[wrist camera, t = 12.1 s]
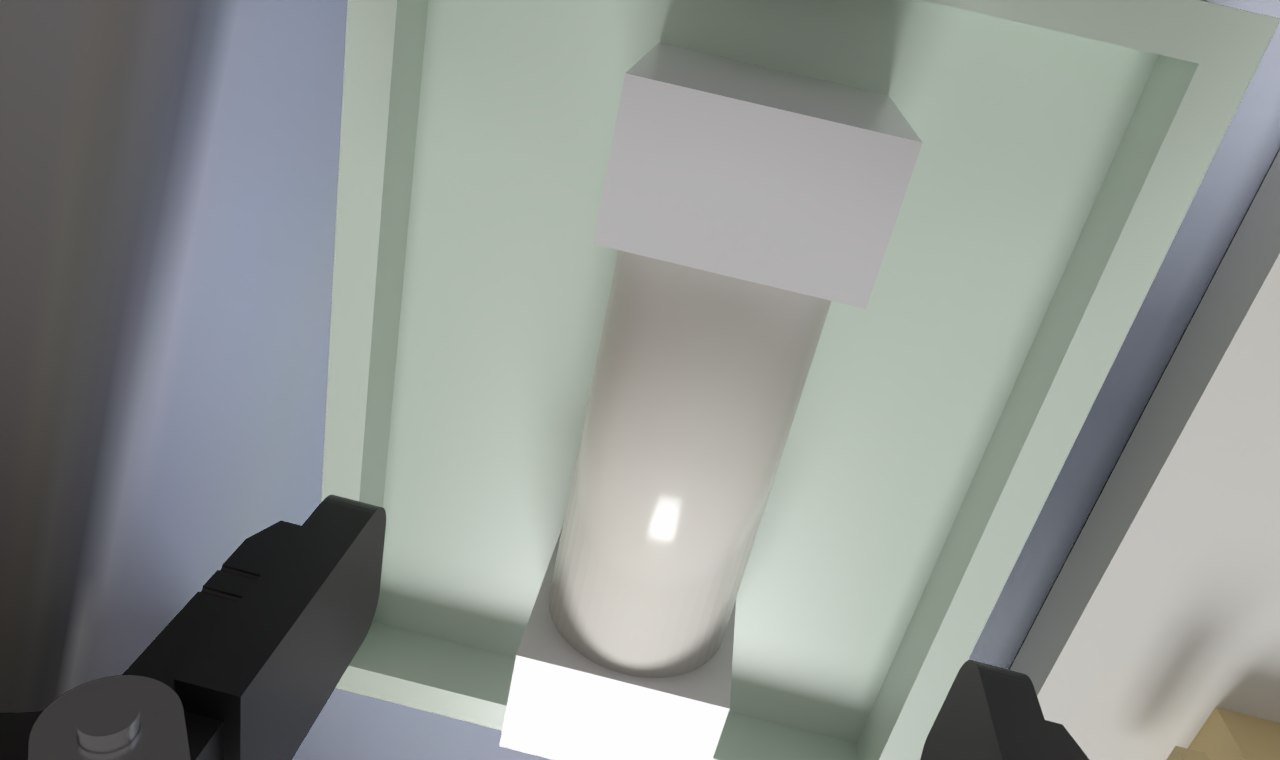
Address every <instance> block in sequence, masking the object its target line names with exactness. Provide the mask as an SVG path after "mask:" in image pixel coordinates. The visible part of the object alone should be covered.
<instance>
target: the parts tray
mask: <svg viewBox="0 0 1280 760" xmlns="http://www.w3.org/2000/svg"><path fill="white" fill-rule="evenodd" d="M1279 22H1280V18H1276V17H1272V16H1267V15H1263V14H1259V13H1254V12H1250V11H1245V10H1241V9H1237V8H1232V7H1228V6H1223V5H1219V4H1215V3H1210V2H1206V1H1201V0H348V5H347V24H346V43H345V62H344V81H343V99H342V118H341V137H340V156H339V175H338V194H337V213H336V232H335V250H334V269H333V288H332V307H331V326H330V345H329V364H328V382H327V401H326V420H325V439H324V458H323V477H322V496H321V502H322V501H323V500H324V499H325V498H326V497H327V496H329V495H336V496H340V497H344V498H348V499H352V500H356V501H360V502H363V503H367V504H371V505H375V506H379V507H383V508H384V509H385V511H386V529H385V539H384V550H383V561H382V572H381V582H380V593H379V599H378V604H377V608H376V612H375V615H374V618H373V621H372V624H371V626H370V629H369V631H368V633H367V635H366V637H365V639H364V641H363V643H362V644H361V646H360V648H359V649H358V651H357V653H356V654H355V656H354V658H353V659H352V661H351V663H350V664H349V666H348V667H347V669H346V671H345V672H344V674H343V676H342V677H341V679H340V681H339V682H338V684H337V686H336V687H335V688H337V689H341V690H345V691H349V692H353V693H357V694H361V695H365V696H369V697H372V698H376V699H380V700H384V701H388V702H392V703H396V704H400V705H404V706H408V707H412V708H416V709H420V710H423V711H427V712H431V713H435V714H439V715H443V716H447V717H451V718H455V719H459V720H463V721H467V722H471V723H475V724H478V725H482V726H486V727H490V728H494V729H498V730H502V728H503V723H504V718H505V712H506V707H507V702H508V696H509V691H510V686H511V680H512V675H513V670H514V664H515V659H516V654H517V651H518V649H519V646H520V643H521V640H522V638H523V635H524V632H525V629H526V626H527V624H528V621H529V618H530V615H531V612H532V610H533V607H534V604H535V601H536V598H537V596H538V593H539V590H540V587H541V585H542V582H543V579H544V576H545V573H546V571H547V568H548V565H549V562H550V559H551V557H552V554H553V551H554V548H555V546H556V543H557V540H558V537H559V534H560V532H561V529H562V528H563V523H564V518H565V513H566V508H567V503H568V498H569V493H570V488H571V483H572V478H573V473H574V468H575V463H576V458H577V453H578V448H579V443H580V438H581V433H582V428H583V423H584V418H585V413H586V408H587V403H588V398H589V393H590V388H591V383H592V379H593V374H594V369H595V364H596V359H597V354H598V349H599V344H600V339H601V334H602V329H603V324H604V319H605V314H606V309H607V304H608V299H609V294H610V289H611V284H612V279H613V274H614V269H615V264H616V259H617V254H618V250H616V249H612V248H608V247H604V246H599V245H595V244H593V242H594V237H595V232H596V226H597V221H598V216H599V210H600V205H601V200H602V194H603V189H604V184H605V178H606V173H607V168H608V162H609V157H610V152H611V146H612V141H613V136H614V130H615V125H616V120H617V114H618V109H619V104H620V98H621V93H622V88H623V82H624V77H625V73H626V72H627V71H628V70H629V69H630V68H631V67H632V66H634V65H635V64H636V63H637V62H638V61H639V60H640V59H641V58H642V57H643V56H644V55H646V54H647V53H648V52H649V51H650V50H651V49H652V48H653V47H654V46H655V45H656V44H658V43H659V42H661V43H665V44H669V45H674V46H678V47H682V48H687V49H691V50H695V51H699V52H704V53H708V54H712V55H717V56H721V57H725V58H730V59H734V60H738V61H743V62H747V63H751V64H756V65H760V66H764V67H768V68H773V69H777V70H781V71H786V72H790V73H794V74H799V75H803V76H807V77H812V78H816V79H820V80H825V81H829V82H833V83H837V84H842V85H846V86H850V87H855V88H859V89H863V90H868V91H872V92H876V93H881V94H885V95H889V97H890V98H891V99H892V101H893V102H894V104H895V105H896V106H897V108H898V109H899V110H900V112H901V113H902V115H903V116H904V117H905V119H906V120H907V122H908V123H909V124H910V126H911V127H912V128H913V130H914V131H915V133H916V134H917V135H918V137H919V138H920V139H921V141H922V142H923V143H922V146H921V149H920V152H919V155H918V158H917V161H916V164H915V167H914V170H913V173H912V175H911V178H910V181H909V184H908V187H907V190H906V193H905V196H904V199H903V202H902V205H901V208H900V211H899V214H898V217H897V219H896V222H895V225H894V228H893V231H892V234H891V237H890V240H889V243H888V246H887V249H886V252H885V255H884V258H883V261H882V263H881V266H880V269H879V272H878V275H877V278H876V281H875V284H874V287H873V290H872V293H871V296H870V299H869V302H868V305H867V307H866V309H863V308H859V307H855V306H851V305H847V304H842V303H838V302H834V301H831V304H830V307H829V311H828V314H827V317H826V320H825V323H824V326H823V329H822V332H821V336H820V339H819V342H818V345H817V348H816V351H815V354H814V357H813V360H812V364H811V367H810V370H809V373H808V376H807V379H806V382H805V385H804V388H803V392H802V395H801V398H800V401H799V404H798V407H797V410H796V413H795V417H794V420H793V423H792V426H791V429H790V432H789V435H788V438H787V441H786V445H785V448H784V451H783V454H782V457H781V460H780V463H779V466H778V470H777V473H776V476H775V479H774V482H773V485H772V488H771V491H770V494H769V498H768V501H767V504H766V507H765V510H764V513H763V516H762V519H761V522H760V526H759V529H758V532H757V535H756V538H755V541H754V544H753V547H752V551H751V554H750V557H749V560H748V563H747V566H746V569H745V572H744V575H743V579H742V582H741V585H740V588H739V591H738V594H737V597H736V608H735V625H734V643H733V660H732V678H731V695H730V709H729V712H728V715H727V718H726V721H725V724H724V727H723V730H722V733H721V736H720V739H719V742H718V745H717V748H716V751H715V753H714V756H713V759H712V760H919V759H920V757H921V755H922V751H923V747H924V744H925V741H926V739H927V736H928V734H929V732H930V730H931V728H932V726H933V724H934V722H935V720H936V717H937V715H938V713H939V711H940V709H941V707H942V705H943V703H944V701H945V699H946V697H947V695H948V692H949V690H950V688H951V686H952V684H953V682H954V680H955V678H956V676H957V674H958V672H959V670H960V668H961V667H962V665H963V664H964V663H965V662H966V661H968V659H969V657H970V655H971V653H972V651H973V649H974V647H975V645H976V643H977V641H978V639H979V636H980V634H981V632H982V630H983V628H984V626H985V624H986V622H987V620H988V618H989V616H990V614H991V612H992V610H993V608H994V606H995V604H996V602H997V600H998V598H999V596H1000V594H1001V591H1002V589H1003V587H1004V585H1005V583H1006V581H1007V579H1008V577H1009V575H1010V573H1011V571H1012V569H1013V567H1014V565H1015V563H1016V561H1017V559H1018V557H1019V555H1020V553H1021V551H1022V548H1023V546H1024V544H1025V542H1026V540H1027V538H1028V536H1029V534H1030V532H1031V530H1032V528H1033V526H1034V524H1035V522H1036V520H1037V518H1038V516H1039V514H1040V512H1041V510H1042V508H1043V505H1044V503H1045V501H1046V499H1047V497H1048V495H1049V493H1050V491H1051V489H1052V487H1053V485H1054V483H1055V481H1056V479H1057V477H1058V475H1059V473H1060V471H1061V469H1062V467H1063V465H1064V463H1065V460H1066V458H1067V456H1068V454H1069V452H1070V450H1071V448H1072V446H1073V444H1074V442H1075V440H1076V438H1077V436H1078V434H1079V432H1080V430H1081V428H1082V426H1083V424H1084V422H1085V420H1086V417H1087V415H1088V413H1089V411H1090V409H1091V407H1092V405H1093V403H1094V401H1095V399H1096V397H1097V395H1098V393H1099V391H1100V389H1101V387H1102V385H1103V383H1104V381H1105V379H1106V377H1107V374H1108V372H1109V370H1110V368H1111V366H1112V364H1113V362H1114V360H1115V358H1116V356H1117V354H1118V352H1119V350H1120V348H1121V346H1122V344H1123V342H1124V340H1125V338H1126V336H1127V334H1128V332H1129V329H1130V327H1131V325H1132V323H1133V321H1134V319H1135V317H1136V315H1137V313H1138V311H1139V309H1140V307H1141V305H1142V303H1143V301H1144V299H1145V297H1146V295H1147V293H1148V291H1149V289H1150V286H1151V284H1152V282H1153V280H1154V278H1155V276H1156V274H1157V272H1158V270H1159V268H1160V266H1161V264H1162V262H1163V260H1164V258H1165V256H1166V254H1167V252H1168V250H1169V248H1170V246H1171V243H1172V241H1173V239H1174V237H1175V235H1176V233H1177V231H1178V229H1179V227H1180V225H1181V223H1182V221H1183V219H1184V217H1185V215H1186V213H1187V211H1188V209H1189V207H1190V205H1191V203H1192V201H1193V198H1194V196H1195V194H1196V192H1197V190H1198V188H1199V186H1200V184H1201V182H1202V180H1203V178H1204V176H1205V174H1206V172H1207V170H1208V168H1209V166H1210V164H1211V162H1212V160H1213V158H1214V155H1215V153H1216V151H1217V149H1218V147H1219V145H1220V143H1221V141H1222V139H1223V137H1224V135H1225V133H1226V131H1227V129H1228V127H1229V125H1230V123H1231V121H1232V119H1233V117H1234V115H1235V112H1236V110H1237V108H1238V106H1239V104H1240V102H1241V100H1242V98H1243V96H1244V94H1245V92H1246V90H1247V88H1248V86H1249V84H1250V82H1251V80H1252V78H1253V76H1254V74H1255V72H1256V70H1257V67H1258V65H1259V63H1260V61H1261V59H1262V57H1263V55H1264V53H1265V51H1266V49H1267V47H1268V45H1269V43H1270V41H1271V39H1272V37H1273V35H1274V33H1275V31H1276V29H1277V27H1278V24H1279Z"/></svg>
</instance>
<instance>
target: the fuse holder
mask: <svg viewBox="0 0 1280 760" xmlns="http://www.w3.org/2000/svg"><path fill="white" fill-rule="evenodd" d="M1010 670H1012V671H1015V672H1019V673H1023V674H1026V675H1027V676H1028V677H1029V678H1030V679H1031V681H1032V683H1033V686H1034V689H1035V692H1036V695H1037V698H1038V701H1039V704H1040V707H1041V710H1042V713H1043V716H1044V719H1045V720H1047V721H1051V722H1055V723H1059V724H1062V725H1063V726H1064V727H1065V728H1066V730H1067V731H1068V732H1069V734H1070V735H1071V736H1072V737H1073V739H1074V740H1075V741H1076V743H1077V744H1078V745H1079V747H1080V748H1081V749H1082V750H1083V752H1084V753H1085V754H1086V756H1087V757H1088V758H1089V759H1090V760H1280V150H1279V152H1278V154H1277V156H1276V158H1275V160H1274V162H1273V164H1272V166H1271V168H1270V170H1269V171H1268V173H1267V175H1266V177H1265V179H1264V181H1263V183H1262V185H1261V187H1260V189H1259V191H1258V193H1257V195H1256V197H1255V198H1254V200H1253V202H1252V204H1251V206H1250V208H1249V210H1248V212H1247V214H1246V216H1245V218H1244V220H1243V222H1242V223H1241V225H1240V227H1239V229H1238V231H1237V233H1236V235H1235V237H1234V239H1233V241H1232V243H1231V245H1230V247H1229V248H1228V250H1227V252H1226V254H1225V256H1224V258H1223V260H1222V262H1221V264H1220V266H1219V268H1218V270H1217V272H1216V273H1215V275H1214V277H1213V279H1212V281H1211V283H1210V285H1209V287H1208V289H1207V291H1206V293H1205V295H1204V297H1203V299H1202V300H1201V302H1200V304H1199V306H1198V308H1197V310H1196V312H1195V314H1194V316H1193V318H1192V320H1191V322H1190V324H1189V325H1188V327H1187V329H1186V331H1185V333H1184V335H1183V337H1182V339H1181V341H1180V343H1179V345H1178V347H1177V349H1176V350H1175V352H1174V354H1173V356H1172V358H1171V360H1170V362H1169V364H1168V366H1167V368H1166V370H1165V372H1164V374H1163V375H1162V377H1161V379H1160V381H1159V383H1158V385H1157V387H1156V389H1155V391H1154V393H1153V395H1152V397H1151V399H1150V401H1149V402H1148V404H1147V406H1146V408H1145V410H1144V412H1143V414H1142V416H1141V418H1140V420H1139V422H1138V424H1137V426H1136V427H1135V429H1134V431H1133V433H1132V435H1131V437H1130V439H1129V441H1128V443H1127V445H1126V447H1125V449H1124V451H1123V452H1122V454H1121V456H1120V458H1119V460H1118V462H1117V464H1116V466H1115V468H1114V470H1113V472H1112V474H1111V476H1110V478H1109V479H1108V481H1107V483H1106V485H1105V487H1104V489H1103V491H1102V493H1101V495H1100V497H1099V499H1098V501H1097V503H1096V504H1095V506H1094V508H1093V510H1092V512H1091V514H1090V516H1089V518H1088V520H1087V522H1086V524H1085V526H1084V528H1083V529H1082V531H1081V533H1080V535H1079V537H1078V539H1077V541H1076V543H1075V545H1074V547H1073V549H1072V551H1071V553H1070V554H1069V556H1068V558H1067V560H1066V562H1065V564H1064V566H1063V568H1062V570H1061V572H1060V574H1059V576H1058V578H1057V580H1056V581H1055V583H1054V585H1053V587H1052V589H1051V591H1050V593H1049V595H1048V597H1047V599H1046V601H1045V603H1044V605H1043V606H1042V608H1041V610H1040V612H1039V614H1038V616H1037V618H1036V620H1035V622H1034V624H1033V626H1032V628H1031V630H1030V631H1029V633H1028V635H1027V637H1026V639H1025V641H1024V643H1023V645H1022V647H1021V649H1020V651H1019V653H1018V655H1017V656H1016V658H1015V660H1014V662H1013V664H1012V666H1011V668H1010Z"/></svg>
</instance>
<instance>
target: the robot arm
mask: <svg viewBox="0 0 1280 760" xmlns="http://www.w3.org/2000/svg"><path fill="white" fill-rule="evenodd" d="M385 529H386V511H385V509H384V508H383V507H379V506H375V505H371V504H367V503H363V502H360V501H356V500H352V499H348V498H344V497H340V496H336V495H329V496H327V497H326V498H325V499H324V500H323V501H322V502H321V504H320V505H319V506H318V507H317V508H316V510H315V511H314V512H313V513H312V514H311V516H310V517H309V518H308V519H307V520H306V522H305V523H304V524H303V525H302V526H300V525H296V524H292V523H288V522H284V521H279V522H278V523H276V524H274V525H272V526H270V527H268V528H266V529H264V530H262V531H261V532H259V533H257V534H255V535H253V536H251V537H249V538H247V539H246V540H245V541H244V542H243V543H242V544H241V545H240V546H239V547H238V548H237V550H236V551H235V552H234V553H233V554H232V555H231V556H230V557H229V558H228V559H227V561H226V562H225V563H224V564H223V565H222V569H221V570H220V571H219V570H217V572H216V573H215V574H214V575H213V576H212V577H211V578H210V579H209V580H208V581H207V583H206V584H205V585H204V586H203V589H202V591H201V592H197V594H196V595H195V596H194V597H193V598H192V599H191V600H190V601H189V602H188V603H187V605H186V606H185V607H184V608H183V609H182V610H181V611H180V612H179V613H178V614H177V616H176V617H175V618H174V619H173V620H172V621H171V622H170V623H169V624H168V625H167V626H166V628H165V629H164V630H163V631H162V632H161V633H160V634H159V635H158V636H157V637H156V639H155V640H154V641H153V642H152V643H151V644H150V645H149V646H148V647H147V648H146V650H145V651H144V652H143V653H142V654H141V655H140V656H139V657H138V658H137V659H136V661H135V662H134V663H133V664H132V665H131V666H130V667H129V668H128V669H127V670H126V671H125V672H124V673H123V674H122V675H118V676H111V677H105V678H101V679H97V680H93V681H90V682H88V683H85V684H82V685H80V686H78V687H76V688H74V689H72V690H70V691H68V692H66V693H65V694H63V695H62V696H60V697H59V698H57V699H56V700H55V701H54V702H52V703H51V704H50V705H49V706H48V707H47V708H46V709H45V710H44V711H39V712H25V713H0V760H292V758H293V756H294V755H295V753H296V751H297V750H298V748H299V746H300V745H301V743H302V742H303V740H304V738H305V737H306V735H307V733H308V732H309V730H310V728H311V727H312V725H313V723H314V722H315V720H316V718H317V717H318V715H319V714H320V712H321V710H322V709H323V707H324V705H325V704H326V702H327V700H328V699H329V697H330V695H331V694H332V692H333V691H334V689H335V687H336V686H337V684H338V682H339V681H340V679H341V677H342V676H343V674H344V672H345V671H346V669H347V667H348V666H349V664H350V663H351V661H352V659H353V658H354V656H355V654H356V653H357V651H358V649H359V648H360V646H361V644H362V643H363V641H364V639H365V637H366V635H367V633H368V631H369V629H370V626H371V624H372V621H373V618H374V615H375V612H376V608H377V604H378V599H379V593H380V582H381V572H382V561H383V550H384V539H385ZM921 760H1090V759H1089V758H1088V757H1087V756H1086V754H1085V753H1084V752H1083V750H1082V749H1081V748H1080V747H1079V745H1078V744H1077V743H1076V741H1075V740H1074V739H1073V737H1072V736H1071V735H1070V734H1069V732H1068V731H1067V730H1066V728H1065V727H1064V726H1063V725H1062V724H1059V723H1055V722H1051V721H1047V720H1045V719H1044V716H1043V713H1042V710H1041V707H1040V704H1039V701H1038V698H1037V695H1036V692H1035V689H1034V686H1033V683H1032V681H1031V679H1030V678H1029V677H1028V676H1027V675H1026V674H1023V673H1019V672H1015V671H1012V670H1008V669H1004V668H1000V667H996V666H992V665H988V664H984V663H980V662H976V661H973V660H968V661H966V662H965V663H964V664H963V665H962V667H961V668H960V670H959V672H958V674H957V676H956V678H955V680H954V682H953V684H952V686H951V688H950V690H949V692H948V695H947V697H946V699H945V701H944V703H943V705H942V707H941V709H940V711H939V713H938V715H937V717H936V720H935V722H934V724H933V726H932V728H931V730H930V732H929V734H928V736H927V739H926V741H925V744H924V747H923V751H922V755H921Z"/></svg>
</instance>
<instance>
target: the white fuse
mask: <svg viewBox="0 0 1280 760" xmlns="http://www.w3.org/2000/svg"><path fill="white" fill-rule="evenodd" d="M922 143H923V142H922V141H921V139H920V138H919V137H918V135H917V134H916V133H915V131H914V130H913V128H912V127H911V126H910V124H909V123H908V122H907V120H906V119H905V117H904V116H903V115H902V113H901V112H900V110H899V109H898V108H897V106H896V105H895V104H894V102H893V101H892V99H891V98H890V97H889V95H885V94H881V93H876V92H872V91H868V90H863V89H859V88H855V87H850V86H846V85H842V84H837V83H833V82H829V81H825V80H820V79H816V78H812V77H807V76H803V75H799V74H794V73H790V72H786V71H781V70H777V69H773V68H768V67H764V66H760V65H756V64H751V63H747V62H743V61H738V60H734V59H730V58H725V57H721V56H717V55H712V54H708V53H704V52H699V51H695V50H691V49H687V48H682V47H678V46H674V45H669V44H665V43H661V42H659V43H658V44H656V45H655V46H654V47H653V48H652V49H651V50H650V51H649V52H648V53H647V54H646V55H644V56H643V57H642V58H641V59H640V60H639V61H638V62H637V63H636V64H635V65H634V66H632V67H631V68H630V69H629V70H628V71H627V72H626V73H625V77H624V82H623V88H622V93H621V98H620V104H619V109H618V114H617V120H616V125H615V130H614V136H613V141H612V146H611V152H610V157H609V162H608V168H607V173H606V178H605V184H604V189H603V194H602V200H601V205H600V210H599V216H598V221H597V226H596V232H595V237H594V242H593V244H595V245H599V246H604V247H608V248H612V249H616V250H618V254H617V259H616V264H615V269H614V274H613V279H612V284H611V289H610V294H609V299H608V304H607V309H606V314H605V319H604V324H603V329H602V334H601V339H600V344H599V349H598V354H597V359H596V364H595V369H594V374H593V379H592V383H591V388H590V393H589V398H588V403H587V408H586V413H585V418H584V423H583V428H582V433H581V438H580V443H579V448H578V453H577V458H576V463H575V468H574V473H573V478H572V483H571V488H570V493H569V498H568V503H567V508H566V513H565V518H564V523H563V528H562V529H561V532H560V534H559V537H558V540H557V543H556V546H555V548H554V551H553V554H552V557H551V559H550V562H549V565H548V568H547V571H546V573H545V576H544V579H543V582H542V585H541V587H540V590H539V593H538V596H537V598H536V601H535V604H534V607H533V610H532V612H531V615H530V618H529V621H528V624H527V626H526V629H525V632H524V635H523V638H522V640H521V643H520V646H519V649H518V651H517V654H516V659H515V664H514V670H513V675H512V680H511V686H510V691H509V696H508V702H507V707H506V712H505V718H504V723H503V728H502V734H501V739H500V744H499V746H501V747H505V748H509V749H513V750H517V751H521V752H525V753H528V754H532V755H536V756H540V757H544V758H548V759H552V760H712V759H713V756H714V753H715V751H716V748H717V745H718V742H719V739H720V736H721V733H722V730H723V727H724V724H725V721H726V718H727V715H728V712H729V709H730V695H731V678H732V660H733V643H734V625H735V608H736V597H737V594H738V591H739V588H740V585H741V582H742V579H743V575H744V572H745V569H746V566H747V563H748V560H749V557H750V554H751V551H752V547H753V544H754V541H755V538H756V535H757V532H758V529H759V526H760V522H761V519H762V516H763V513H764V510H765V507H766V504H767V501H768V498H769V494H770V491H771V488H772V485H773V482H774V479H775V476H776V473H777V470H778V466H779V463H780V460H781V457H782V454H783V451H784V448H785V445H786V441H787V438H788V435H789V432H790V429H791V426H792V423H793V420H794V417H795V413H796V410H797V407H798V404H799V401H800V398H801V395H802V392H803V388H804V385H805V382H806V379H807V376H808V373H809V370H810V367H811V364H812V360H813V357H814V354H815V351H816V348H817V345H818V342H819V339H820V336H821V332H822V329H823V326H824V323H825V320H826V317H827V314H828V311H829V307H830V304H831V301H834V302H838V303H842V304H847V305H851V306H855V307H859V308H863V309H866V307H867V305H868V302H869V299H870V296H871V293H872V290H873V287H874V284H875V281H876V278H877V275H878V272H879V269H880V266H881V263H882V261H883V258H884V255H885V252H886V249H887V246H888V243H889V240H890V237H891V234H892V231H893V228H894V225H895V222H896V219H897V217H898V214H899V211H900V208H901V205H902V202H903V199H904V196H905V193H906V190H907V187H908V184H909V181H910V178H911V175H912V173H913V170H914V167H915V164H916V161H917V158H918V155H919V152H920V149H921V146H922Z"/></svg>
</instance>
